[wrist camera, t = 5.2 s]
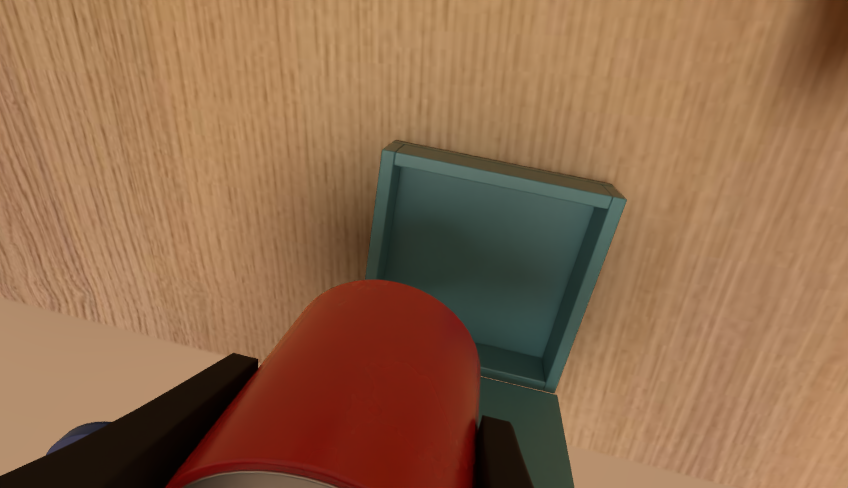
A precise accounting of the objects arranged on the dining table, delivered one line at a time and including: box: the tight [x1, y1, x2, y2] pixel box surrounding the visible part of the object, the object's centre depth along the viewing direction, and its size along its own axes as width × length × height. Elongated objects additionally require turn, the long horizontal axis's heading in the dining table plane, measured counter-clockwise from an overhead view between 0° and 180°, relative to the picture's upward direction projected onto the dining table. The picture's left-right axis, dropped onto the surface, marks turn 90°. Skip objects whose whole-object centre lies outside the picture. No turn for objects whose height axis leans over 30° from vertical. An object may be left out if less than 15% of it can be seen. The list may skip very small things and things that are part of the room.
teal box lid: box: [478, 377, 574, 488], centre depth 14 cm, size 9×9×1 cm
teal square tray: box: [365, 140, 627, 393], centre depth 18 cm, size 9×9×2 cm
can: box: [164, 280, 481, 488], centre depth 9 cm, size 5×5×6 cm
